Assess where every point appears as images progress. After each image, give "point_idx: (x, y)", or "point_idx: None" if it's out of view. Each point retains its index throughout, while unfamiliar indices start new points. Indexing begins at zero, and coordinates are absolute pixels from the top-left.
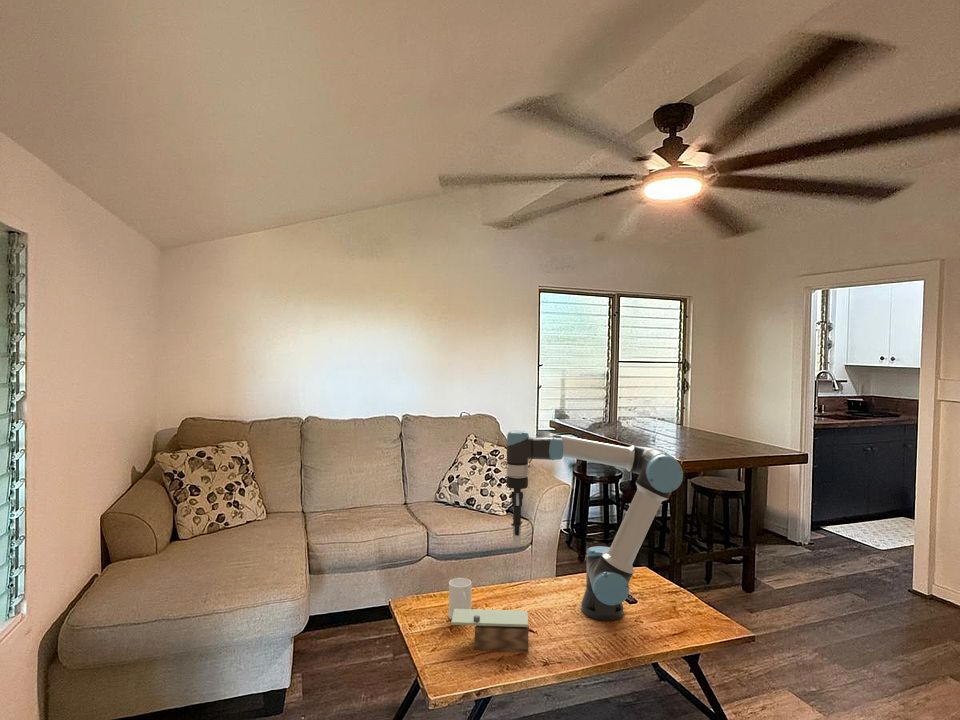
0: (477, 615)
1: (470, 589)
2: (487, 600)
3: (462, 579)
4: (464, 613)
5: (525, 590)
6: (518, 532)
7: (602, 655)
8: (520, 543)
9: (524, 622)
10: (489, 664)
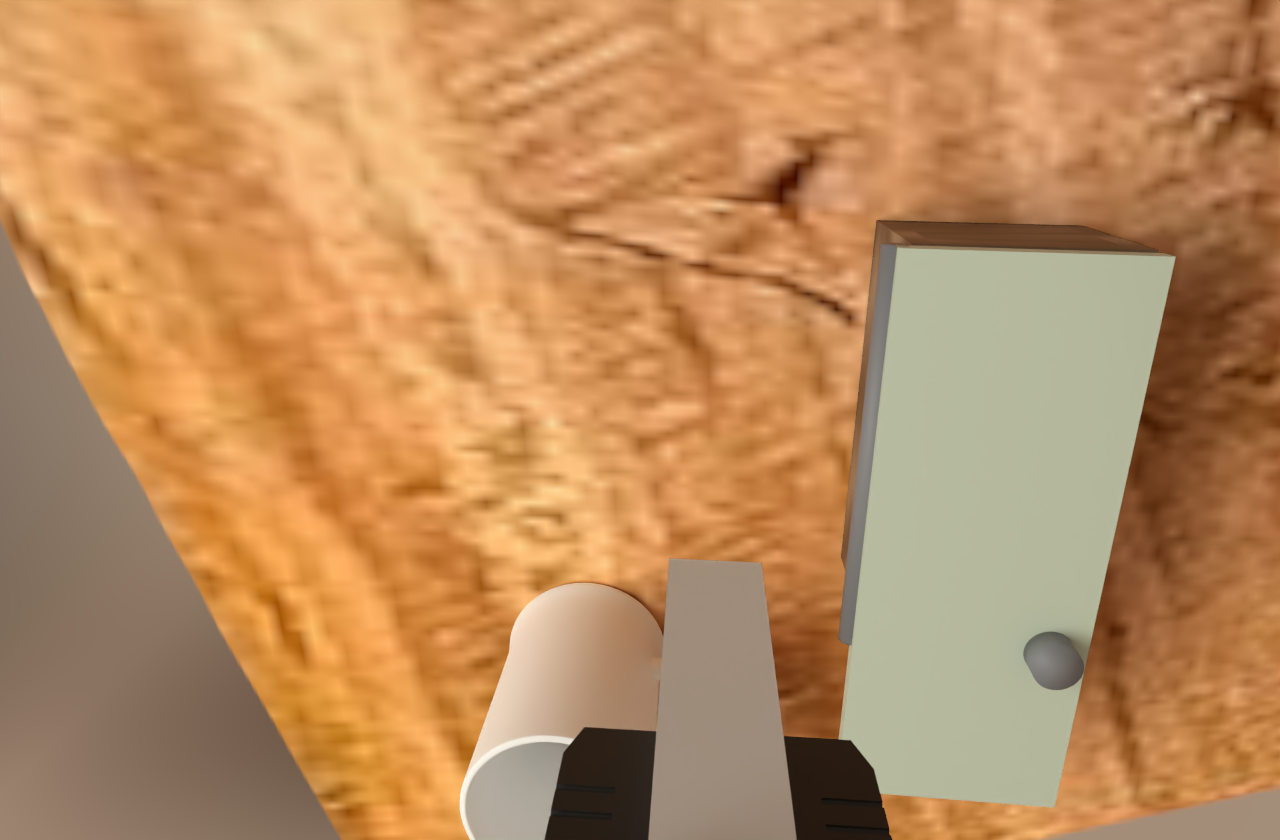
0: (1035, 663)
1: (590, 712)
2: (352, 480)
3: (471, 790)
4: (921, 728)
5: (122, 179)
6: (882, 819)
7: None
8: (759, 574)
9: (1130, 289)
10: (1197, 482)
